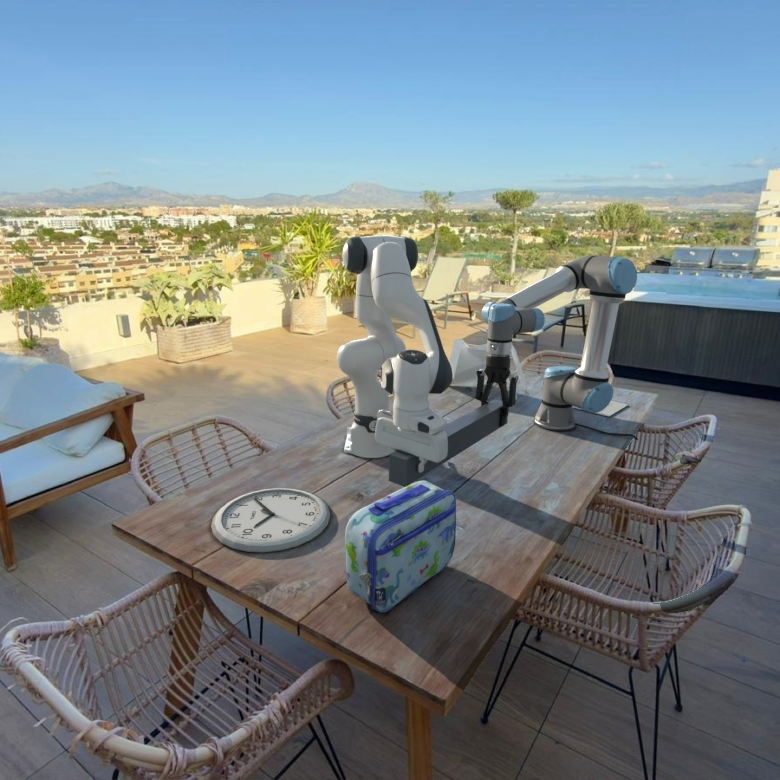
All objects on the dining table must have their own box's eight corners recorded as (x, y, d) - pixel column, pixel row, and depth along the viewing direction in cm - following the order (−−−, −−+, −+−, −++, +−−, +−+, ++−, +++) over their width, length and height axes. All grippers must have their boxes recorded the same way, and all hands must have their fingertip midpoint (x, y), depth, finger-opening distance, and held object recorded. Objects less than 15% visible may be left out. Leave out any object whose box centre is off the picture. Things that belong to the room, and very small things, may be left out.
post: (492, 419, 175) (494, 399, 173) (507, 423, 172) (508, 402, 170) (388, 481, 132) (389, 454, 129) (405, 487, 129) (406, 460, 126)
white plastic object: (461, 429, 252) (437, 405, 227) (444, 352, 274) (420, 323, 250) (535, 404, 240) (518, 377, 215) (510, 326, 262) (492, 293, 237)
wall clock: (328, 544, 122) (196, 548, 120) (328, 550, 123) (197, 554, 120) (331, 483, 151) (225, 486, 148) (331, 488, 151) (225, 491, 149)
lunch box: (374, 626, 100) (375, 530, 93) (338, 598, 107) (337, 508, 101) (459, 568, 117) (465, 484, 111) (424, 547, 124) (427, 467, 118)
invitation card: (608, 416, 214) (573, 407, 224) (608, 416, 214) (573, 408, 224) (628, 404, 229) (594, 396, 238) (628, 405, 229) (594, 397, 238)
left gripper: (369, 410, 132) (369, 460, 136) (438, 430, 121) (435, 484, 125) (385, 404, 137) (384, 452, 141) (452, 422, 125) (449, 474, 130)
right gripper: (466, 351, 166) (463, 420, 173) (521, 361, 155) (514, 433, 162) (478, 347, 171) (474, 414, 178) (531, 356, 161) (524, 426, 168)
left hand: (408, 467), depth 133 cm, fingers closed on post, 5 cm apart
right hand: (493, 423), depth 170 cm, fingers closed on post, 5 cm apart
